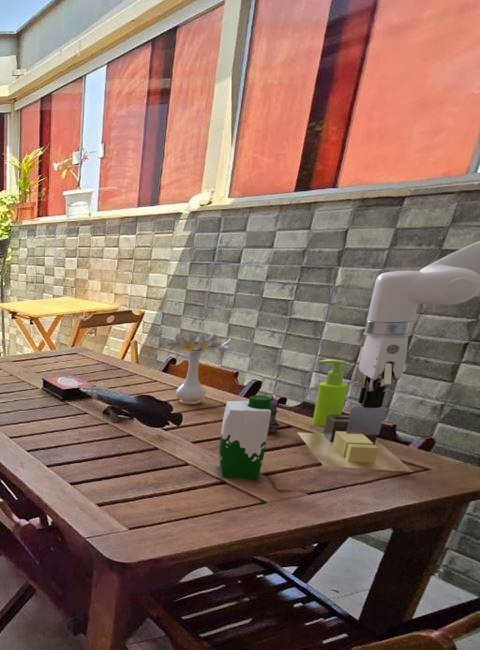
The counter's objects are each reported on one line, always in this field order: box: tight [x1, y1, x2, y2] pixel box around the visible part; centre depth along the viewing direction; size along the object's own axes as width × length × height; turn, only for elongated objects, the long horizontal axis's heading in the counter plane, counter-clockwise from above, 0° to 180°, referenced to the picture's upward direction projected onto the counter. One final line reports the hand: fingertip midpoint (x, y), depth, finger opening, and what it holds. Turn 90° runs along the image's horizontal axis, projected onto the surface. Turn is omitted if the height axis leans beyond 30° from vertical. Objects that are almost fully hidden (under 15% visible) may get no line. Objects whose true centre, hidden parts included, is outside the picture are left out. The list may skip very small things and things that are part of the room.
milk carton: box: [218, 394, 271, 481], centre depth 121 cm, size 9×9×20 cm
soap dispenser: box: [311, 358, 349, 428], centre depth 141 cm, size 6×7×20 cm
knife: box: [346, 382, 387, 436], centre depth 117 cm, size 6×2×13 cm, turn 64°
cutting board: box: [297, 432, 414, 473], centre depth 127 cm, size 16×24×1 cm, turn 154°
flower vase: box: [167, 331, 232, 405], centre depth 173 cm, size 13×18×25 cm
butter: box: [333, 431, 373, 457], centre depth 125 cm, size 5×8×4 cm, turn 154°
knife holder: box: [322, 414, 378, 444], centre depth 131 cm, size 9×6×6 cm, turn 64°
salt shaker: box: [268, 395, 281, 434], centre depth 141 cm, size 6×6×12 cm
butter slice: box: [345, 444, 379, 463], centre depth 120 cm, size 5×2×4 cm, turn 64°
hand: (369, 404), depth 117 cm, fingers closed on knife, 2 cm apart
